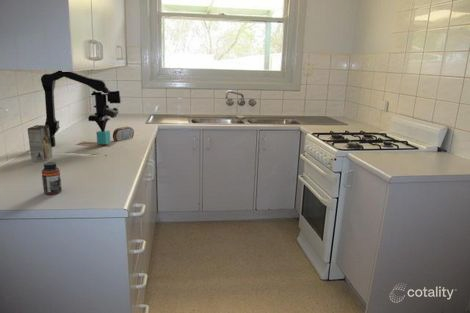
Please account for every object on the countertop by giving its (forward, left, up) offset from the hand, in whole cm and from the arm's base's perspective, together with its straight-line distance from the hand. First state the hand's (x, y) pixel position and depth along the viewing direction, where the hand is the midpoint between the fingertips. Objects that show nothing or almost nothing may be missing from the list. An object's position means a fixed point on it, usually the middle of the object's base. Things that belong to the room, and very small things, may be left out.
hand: (103, 131), depth 202 cm
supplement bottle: (-71, -17, -9) cm, 74 cm away
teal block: (0, 0, -7) cm, 7 cm away
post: (0, 0, -8) cm, 8 cm away
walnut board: (0, +5, -9) cm, 10 cm away
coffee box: (-31, +16, -9) cm, 36 cm away
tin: (+17, -4, -9) cm, 20 cm away
